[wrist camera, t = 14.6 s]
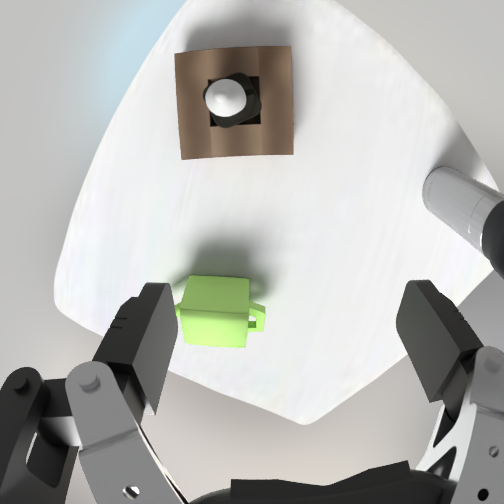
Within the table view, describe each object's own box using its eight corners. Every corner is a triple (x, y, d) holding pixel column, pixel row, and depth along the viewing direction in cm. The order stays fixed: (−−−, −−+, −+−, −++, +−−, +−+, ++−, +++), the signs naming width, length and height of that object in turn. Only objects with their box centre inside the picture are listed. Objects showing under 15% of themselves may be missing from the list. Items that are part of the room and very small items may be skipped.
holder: (286, 52, 36) (290, 46, 32) (288, 149, 43) (293, 154, 39) (182, 58, 36) (174, 53, 32) (188, 153, 43) (181, 160, 39)
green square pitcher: (171, 313, 58) (160, 348, 50) (165, 272, 53) (151, 306, 45) (262, 319, 58) (262, 356, 50) (266, 278, 53) (267, 314, 45)
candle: (261, 109, 39) (276, 114, 17) (228, 124, 40) (202, 149, 18) (245, 79, 37) (240, 45, 15) (213, 94, 38) (166, 81, 16)
